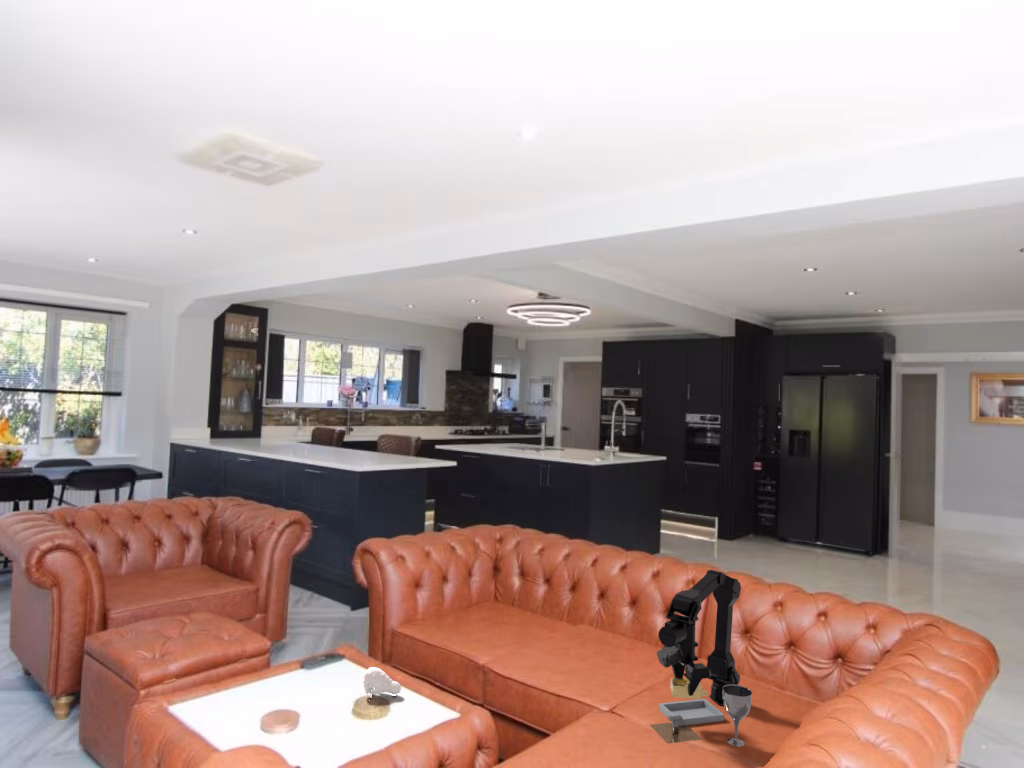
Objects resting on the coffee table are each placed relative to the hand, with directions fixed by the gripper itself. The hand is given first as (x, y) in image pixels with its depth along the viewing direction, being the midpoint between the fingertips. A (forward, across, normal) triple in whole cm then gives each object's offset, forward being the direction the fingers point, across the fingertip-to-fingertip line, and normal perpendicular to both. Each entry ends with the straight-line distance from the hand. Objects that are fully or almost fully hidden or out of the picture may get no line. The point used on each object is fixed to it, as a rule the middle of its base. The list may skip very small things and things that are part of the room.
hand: (684, 690), depth 205 cm
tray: (+11, -5, +5) cm, 13 cm away
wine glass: (+11, +13, +9) cm, 19 cm away
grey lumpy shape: (+9, -38, -85) cm, 94 cm away
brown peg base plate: (+10, +4, -5) cm, 12 cm away
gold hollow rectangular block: (+1, 0, 0) cm, 1 cm away
